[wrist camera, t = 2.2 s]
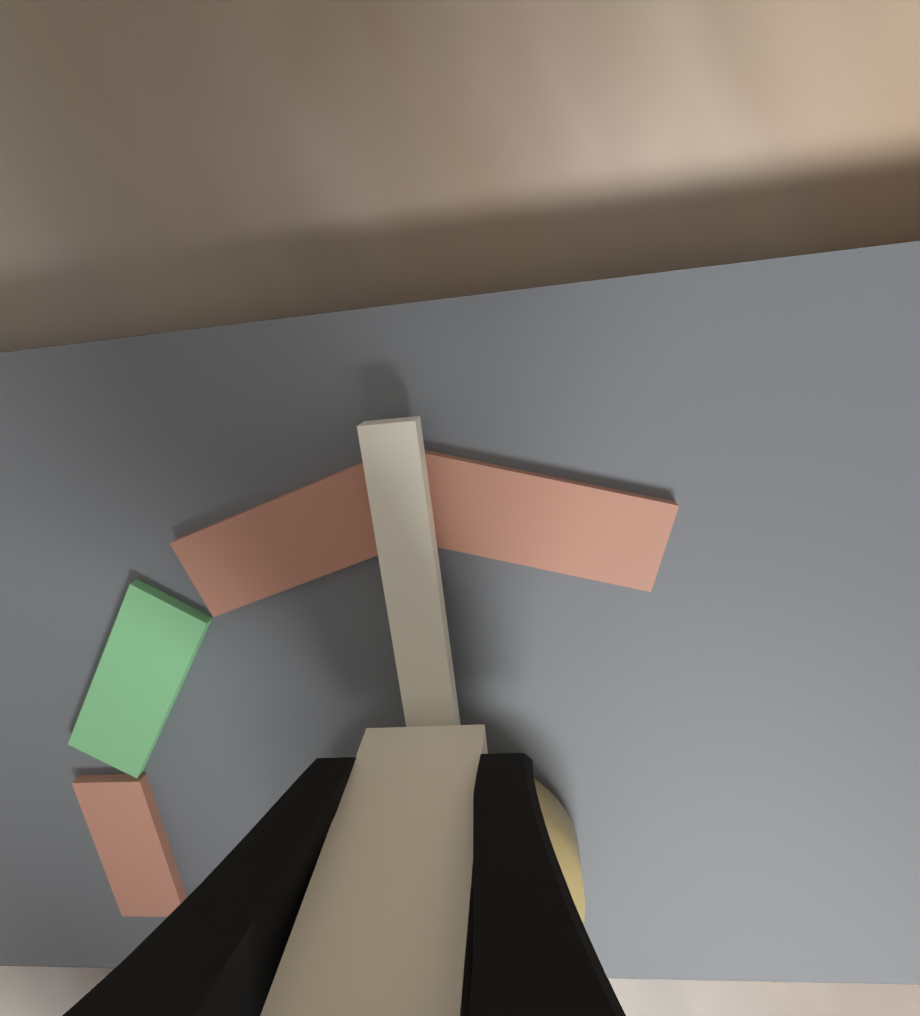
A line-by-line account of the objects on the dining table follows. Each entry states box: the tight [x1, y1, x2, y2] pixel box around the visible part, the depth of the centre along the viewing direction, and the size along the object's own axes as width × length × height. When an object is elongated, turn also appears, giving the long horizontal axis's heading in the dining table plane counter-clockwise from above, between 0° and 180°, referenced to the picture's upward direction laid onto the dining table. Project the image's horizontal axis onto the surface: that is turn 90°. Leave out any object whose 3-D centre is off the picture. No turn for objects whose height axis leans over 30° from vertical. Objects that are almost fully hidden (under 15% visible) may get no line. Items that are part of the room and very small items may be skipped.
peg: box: [260, 416, 585, 1016], centre depth 8 cm, size 12×4×5 cm, turn 6°
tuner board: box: [0, 241, 920, 985], centre depth 11 cm, size 13×24×1 cm, turn 96°
